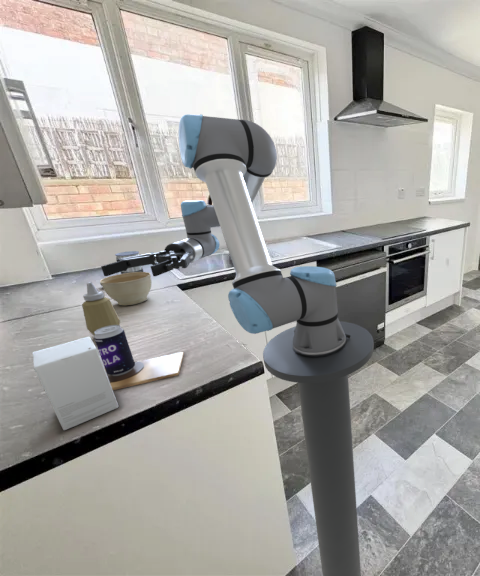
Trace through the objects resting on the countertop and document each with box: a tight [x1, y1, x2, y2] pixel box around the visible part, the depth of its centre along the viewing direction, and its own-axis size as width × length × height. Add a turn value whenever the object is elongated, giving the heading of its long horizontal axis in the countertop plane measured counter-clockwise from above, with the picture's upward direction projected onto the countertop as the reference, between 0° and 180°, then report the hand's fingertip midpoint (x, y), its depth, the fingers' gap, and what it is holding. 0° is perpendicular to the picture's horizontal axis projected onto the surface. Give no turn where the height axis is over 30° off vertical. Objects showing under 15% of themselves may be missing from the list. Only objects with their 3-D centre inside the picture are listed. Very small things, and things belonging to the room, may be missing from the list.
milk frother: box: [99, 250, 144, 287], centre depth 149 cm, size 14×16×15 cm
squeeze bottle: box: [81, 281, 121, 337], centre depth 97 cm, size 8×8×18 cm
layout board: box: [104, 351, 185, 391], centre depth 79 cm, size 20×12×1 cm, turn 116°
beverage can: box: [93, 324, 136, 376], centre depth 77 cm, size 6×6×12 cm
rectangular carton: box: [32, 335, 119, 431], centre depth 65 cm, size 9×9×15 cm
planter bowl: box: [99, 271, 152, 306], centre depth 127 cm, size 16×16×11 cm
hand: (128, 271), depth 80 cm, fingers open, 13 cm apart
